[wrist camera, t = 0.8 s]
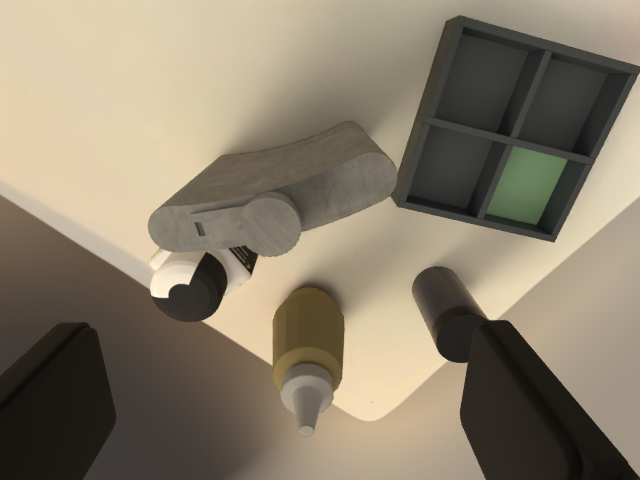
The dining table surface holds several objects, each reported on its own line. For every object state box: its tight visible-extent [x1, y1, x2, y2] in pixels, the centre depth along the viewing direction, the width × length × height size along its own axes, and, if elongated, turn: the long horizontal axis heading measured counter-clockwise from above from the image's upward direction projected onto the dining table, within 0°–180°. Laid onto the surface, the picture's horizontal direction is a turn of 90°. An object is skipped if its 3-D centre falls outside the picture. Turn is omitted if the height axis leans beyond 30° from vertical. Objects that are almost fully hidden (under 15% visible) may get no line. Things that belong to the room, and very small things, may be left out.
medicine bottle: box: [148, 245, 258, 322], centre depth 38 cm, size 7×7×12 cm
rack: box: [391, 15, 640, 242], centre depth 38 cm, size 17×17×4 cm
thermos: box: [412, 267, 489, 363], centre depth 42 cm, size 6×6×10 cm
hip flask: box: [148, 122, 398, 257], centre depth 31 cm, size 16×4×20 cm, turn 105°
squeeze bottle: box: [273, 287, 344, 437], centre depth 39 cm, size 8×8×18 cm
